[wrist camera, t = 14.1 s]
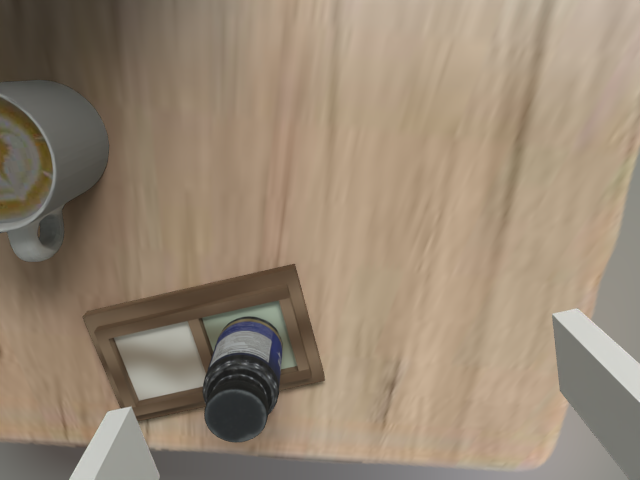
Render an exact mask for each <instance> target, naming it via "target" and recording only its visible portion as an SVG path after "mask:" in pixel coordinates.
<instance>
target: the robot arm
mask: <svg viewBox="0 0 640 480" xmlns="http://www.w3.org/2000/svg"><path fill="white" fill-rule="evenodd" d="M552 318H553V328H554V338H555V347H556V357H557V367H558V376H559V386H560V392H561V393H562V394H563V395H564V397H565V398H566V399H567V401H568V402H569V403H570V404H571V406H572V407H573V408H574V410H575V411H576V412H577V413H578V415H579V416H580V417H581V418H582V420H583V421H584V422H585V423H586V425H587V426H588V427H589V429H590V430H591V431H592V433H593V434H594V435H595V436H596V438H597V439H598V440H599V442H600V443H601V444H602V445H603V447H604V448H605V449H606V450H607V452H608V453H609V454H610V456H611V457H612V458H613V460H614V461H615V462H616V463H617V465H618V466H619V467H620V468H621V470H622V471H623V472H624V474H625V475H626V476H627V477H628V479H629V480H640V364H639V363H638V362H637V361H636V360H634V358H632V357H631V356H630V355H629V354H628V353H627V352H626V351H625V350H624V349H622V348H621V347H620V346H619V345H618V344H617V343H615V341H613V340H612V339H611V338H610V337H609V336H608V335H607V334H606V333H605V332H603V331H602V330H601V329H600V328H599V327H598V326H597V325H596V324H594V323H593V322H592V321H591V320H590V319H589V318H588V317H587V316H586V315H584V314H583V313H582V312H581V311H580V310H579V309H578V308H577V309H573V310H568V311H563V312H559V313H554V314H552ZM159 477H160V475H159V473H158V470H157V468H156V465H155V463H154V460H153V458H152V455H151V453H150V451H149V448H148V446H147V443H146V441H145V438H144V436H143V434H142V431H141V429H140V426H139V424H138V421H137V419H136V417H135V414H134V412H133V409H132V407H126V408H122V409H117V410H112V411H108V412H107V414H106V415H105V417H104V419H103V421H102V422H101V424H100V426H99V428H98V429H97V431H96V433H95V435H94V437H93V438H92V440H91V442H90V444H89V445H88V447H87V449H86V451H85V453H84V454H83V456H82V458H81V460H80V461H79V463H78V465H77V466H76V468H75V470H74V472H73V474H72V475H71V477H70V479H69V480H159Z"/></svg>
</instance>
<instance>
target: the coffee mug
mask: <svg viewBox="0 0 640 480" xmlns="http://www.w3.org/2000/svg"><path fill="white" fill-rule="evenodd" d="M108 154H109V142H108V136H107V132H106V129H105V126H104V124H103V122H102V120H101V118H100V116H99V114H98V113H97V111H96V110H95V108H94V107H93V106H92V105H91V103H89V102H88V101H87V100H86V99H85V98H84V97H83V96H82V95H80V94H79V93H78V92H76V91H75V90H73V89H71V88H69V87H67V86H65V85H62V84H60V83H56V82H53V81H46V80H29V81H12V82H0V233H2V232H7V234H8V237H9V241H10V244H11V247H12V249H13V251H14V253H15V254H16V255H17V256H18V257H19V258H20V259H22V260H24V261H27V262H39V261H43V260H46V259H49V258H50V257H52V256H53V255H54V254H55V253H56V252H57V251H58V250H59V248H60V246H61V245H62V242H63V238H64V222H63V215H62V209H63V207H64V204H65V203H67V202H68V201H70V200H72V199H74V198H75V197H77V196H79V195H80V194H82V193H84V192H86V191H87V190H89V189H90V188H91V187H92V186H93V185H95V183H96V182H97V181H98V180H99V179H100V177H101V176H102V174H103V172H104V170H105V167H106V164H107V161H108ZM39 225H40V238H38V227H39Z"/></svg>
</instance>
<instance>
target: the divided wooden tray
mask: <svg viewBox="0 0 640 480" xmlns="http://www.w3.org/2000/svg"><path fill="white" fill-rule="evenodd" d="M248 316H251V317H258V318H261V319H264V320H266V321H268V322H270V323H271V324H272V325H273V326H274V327H275V328H276V329H277V331H278V333H279V336H280V337H281V340H282V343H283V350H282V362H281V374H280V384H279V390H284V389H289V388H293V387H298V386H302V385H307V384H312V383H316V382H321V381H325V379H324V371H323V368H322V364H321V360H320V356H319V353H318V349H317V345H316V341H315V338H314V334H313V330H312V326H311V323H310V319H309V315H308V311H307V308H306V304H305V300H304V297H303V293H302V289H301V285H300V282H299V278H298V274H297V270H296V267H295V264H292V265H287V266H283V267H279V268H274V269H270V270H266V271H261V272H257V273H253V274H248V275H244V276H239V277H235V278H231V279H226V280H222V281H218V282H213V283H209V284H205V285H200V286H196V287H191V288H187V289H183V290H178V291H174V292H170V293H165V294H161V295H157V296H152V297H148V298H143V299H139V300H135V301H130V302H126V303H122V304H117V305H113V306H109V307H104V308H100V309H95V310H91V311H87V313H86V314H85V315H84V316H83V319H84V322H85V324H86V327H87V329H88V331H89V334H90V336H91V338H92V341H93V343H94V346H95V348H96V350H97V353H98V355H99V358H100V360H101V362H102V365H103V367H104V369H105V372H106V374H107V377H108V379H109V381H110V384H111V386H112V388H113V391H114V393H115V396H116V398H117V400H118V403H119V405H120V407H121V409H122V408H126V407H132V409H133V412H134V414H135V417H136V419H137V421H142V420H146V419H151V418H156V417H160V416H165V415H169V414H174V413H178V412H183V411H188V410H192V409H197V408H201V407H206V404H205V401H204V398H203V393H202V391H203V383H204V379H205V376H206V373H207V371H208V367H209V364H210V361H211V358H212V355H213V352H214V349H215V345H216V343H217V340H218V337H219V335H220V333H221V332H222V330H223V328H224V327H225V326H226V325H227V324H228V323H229V322H231V321H233V320H235V319H237V318H241V317H248Z"/></svg>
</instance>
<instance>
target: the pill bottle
mask: <svg viewBox="0 0 640 480" xmlns="http://www.w3.org/2000/svg"><path fill="white" fill-rule="evenodd" d="M282 350H283V343H282V340H281V337H280V336H279V333H278V331H277V329H276V328H275V327H274V326H273V325H272V324H271V323H270V322H268V321H266V320H264V319H261V318H258V317H251V316H248V317H241V318H237V319H235V320H233V321H231V322H229V323H228V324H227V325H226V326H225V327H224V328H223V330H222V332H221V333H220V335H219V337H218V340H217V343H216V345H215V349H214V352H213V355H212V358H211V361H210V364H209V367H208V371H207V373H206V376H205V379H204V383H203V391H202V393H203V398H204V401H205V404H206V407H205V413H204V414H205V415H204V416H205V421H206V424H207V426H208V428H209V429H210V431H211V432H212V433H213V434H214V435H216V436H217V437H219V438H221V439H223V440H225V441H229V442H244V441H248V440H250V439H253V438H254V437H256V436H257V435H258V434H260V432H261V431H262V430H263V428H264V427H265V425H266V421H267V417H268V415H269V414H270V413H271V411H272V410H273V408H274V407H275V405H276V403H277V399H278V395H279V384H280V374H281V362H282Z"/></svg>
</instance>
